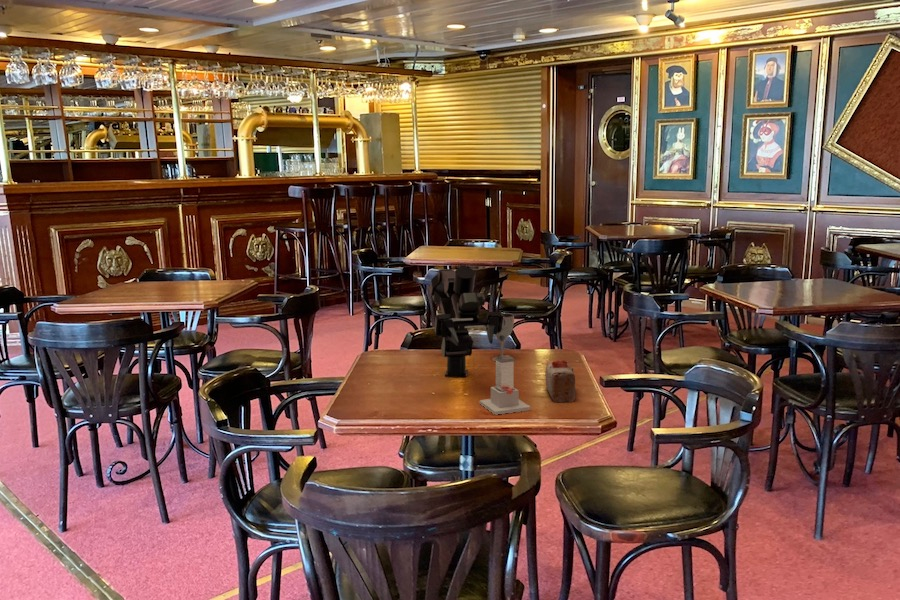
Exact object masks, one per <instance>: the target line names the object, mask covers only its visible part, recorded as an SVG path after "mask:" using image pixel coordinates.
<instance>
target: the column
mask: <svg viewBox="0 0 900 600" xmlns="http://www.w3.org/2000/svg"><path fill="white" fill-rule="evenodd" d="M494 357H495V360H496V362H495V387H496V389H497V390H498V391H500V392H505V391H507V390H508V389H509V388H513V390H514V388H515V387H514V375H515V373H514V366H515V365H514V364H515V363H514V362H516V361H515V359H516V358H514V357H513V356H511V355H509V354H505V355H504V354H503V356H500V355H497V356H494Z"/></svg>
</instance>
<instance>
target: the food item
mask: <svg viewBox="0 0 900 600" xmlns="http://www.w3.org/2000/svg"><path fill="white" fill-rule="evenodd" d="M569 363H570V360H569V361H568V362H567V361H566V360H553V361H547V362H546V365H545V366H546V367H545V375H544V376H545V388H546V389H547V391H548V394H549V395H550V398H551V399H552V400H553V402H555V403H567V402H568V403H572V402H574V401H575V398H576V375H575V373H574V370H575V368H574V367H573V366H570V365H569Z"/></svg>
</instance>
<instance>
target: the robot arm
mask: <svg viewBox="0 0 900 600" xmlns="http://www.w3.org/2000/svg"><path fill="white" fill-rule="evenodd" d="M475 280H476V271H475V270H474V269H473V268H470V267H467V265H466V264H465V265H462V264H461V265H459V267H458V268H456V269H455V270H454V269H452V268H449V269H448V268H443V269H442V268H441V269H439V270H437V274H436V275H435V276H433V278H431V279H430V283H429V295H430V297H432V301H433V302H434V303H435V304H437V305H438V306H440V307H439V308H440V311H441V314H436V315H435V317H434V318H435V320H434V333H435V335H436V337H442V342H441V346H440V349H441V351H440V352H441V355H442V356H443V358H446V372H445V373H444V377H448V378H449V377H451V378H453V377H454V378H466V377H467V375H468V372H469V370H468V369H467V366H466V365H467V363H466V361H467V360H466V358H467V357H466V356H470V357H471V356H472V354H473V345H474V340H473V338H472V335H470V333H469V329H471V330H472V329H476V328H485V329H486V337H487V338H488V341H489V344H490V345H492V344H493V338H494V337H495V335H494V334H497V333H499V332H501V330H502V323H503V314H502V313H503V312H502V311H488V312H487V313H486V318H479V317H478V316H479V315H480V309H479V307H481V306H485V303H486V296H485V293H484V292H474V288H475V287H476V281H475Z"/></svg>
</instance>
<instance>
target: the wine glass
mask: <svg viewBox="0 0 900 600" xmlns="http://www.w3.org/2000/svg"><path fill="white" fill-rule="evenodd" d="M501 313H502V314H503V323H502V330H501V332H499V333H497V334H494V337H495V338H496V339H497V340H498V342H499V346H500V349H499V350H500V355H499V356H503V355H504V345H505V342H506V340H507V339H508V337H509V336H510V335H511V334H512V332H513V330H514V324H515V315H514V314H513V313H511V312H510V313H509V312H501ZM492 358H493V360H495V358H494V357H492ZM495 361H496V360H495Z"/></svg>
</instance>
